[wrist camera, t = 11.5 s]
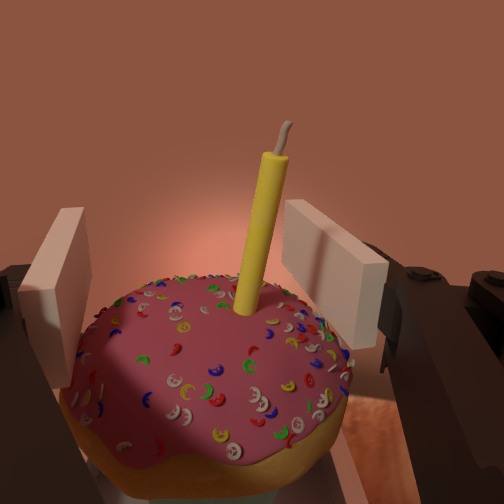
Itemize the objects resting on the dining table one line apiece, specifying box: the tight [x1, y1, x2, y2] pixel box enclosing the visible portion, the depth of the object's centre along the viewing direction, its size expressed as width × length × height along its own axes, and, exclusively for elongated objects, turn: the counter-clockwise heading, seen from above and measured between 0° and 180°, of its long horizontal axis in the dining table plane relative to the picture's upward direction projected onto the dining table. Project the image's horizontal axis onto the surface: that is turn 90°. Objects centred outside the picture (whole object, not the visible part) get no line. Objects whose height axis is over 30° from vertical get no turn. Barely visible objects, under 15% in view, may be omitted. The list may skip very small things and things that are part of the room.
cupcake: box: [59, 120, 355, 504], centre depth 13 cm, size 9×8×12 cm
